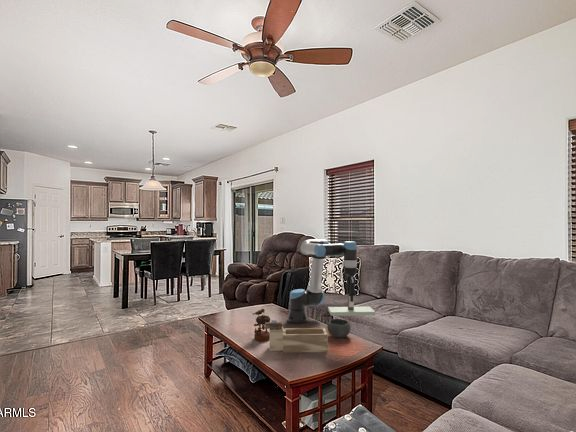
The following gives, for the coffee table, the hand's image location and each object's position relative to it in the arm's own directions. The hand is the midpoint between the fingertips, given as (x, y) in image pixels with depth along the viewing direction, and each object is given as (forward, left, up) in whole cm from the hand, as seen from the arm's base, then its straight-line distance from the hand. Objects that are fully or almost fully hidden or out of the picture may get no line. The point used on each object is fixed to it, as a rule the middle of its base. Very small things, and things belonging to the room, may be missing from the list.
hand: (350, 305), depth 193 cm
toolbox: (0, -32, -25) cm, 41 cm away
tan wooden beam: (0, -47, -13) cm, 48 cm away
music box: (-17, -54, -25) cm, 62 cm away
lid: (0, 0, -4) cm, 4 cm away
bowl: (-19, -4, -25) cm, 32 cm away
